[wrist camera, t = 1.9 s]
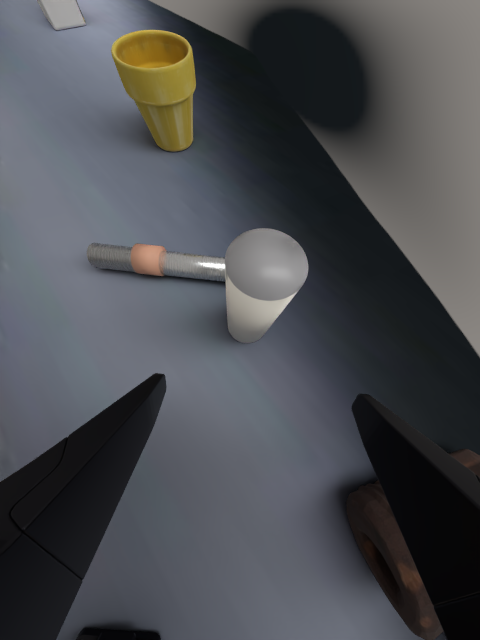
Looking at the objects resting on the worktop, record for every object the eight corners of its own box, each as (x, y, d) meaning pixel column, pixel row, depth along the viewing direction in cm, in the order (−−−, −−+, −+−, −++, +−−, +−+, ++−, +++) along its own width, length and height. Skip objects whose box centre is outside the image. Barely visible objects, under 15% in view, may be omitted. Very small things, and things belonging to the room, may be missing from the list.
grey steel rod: (293, 295, 25) (304, 282, 21) (99, 274, 24) (78, 257, 21) (293, 272, 26) (303, 256, 23) (108, 251, 25) (89, 231, 22)
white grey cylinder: (265, 345, 23) (309, 305, 10) (225, 341, 22) (219, 295, 10) (267, 307, 24) (307, 233, 12) (229, 303, 24) (229, 224, 12)
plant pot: (133, 134, 33) (94, 38, 24) (182, 115, 35) (165, 21, 26) (164, 168, 31) (135, 77, 21) (214, 145, 33) (208, 55, 24)
